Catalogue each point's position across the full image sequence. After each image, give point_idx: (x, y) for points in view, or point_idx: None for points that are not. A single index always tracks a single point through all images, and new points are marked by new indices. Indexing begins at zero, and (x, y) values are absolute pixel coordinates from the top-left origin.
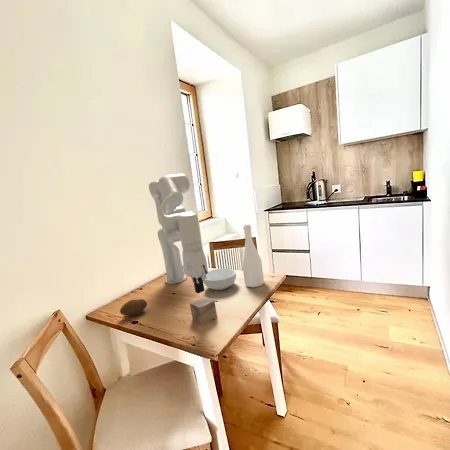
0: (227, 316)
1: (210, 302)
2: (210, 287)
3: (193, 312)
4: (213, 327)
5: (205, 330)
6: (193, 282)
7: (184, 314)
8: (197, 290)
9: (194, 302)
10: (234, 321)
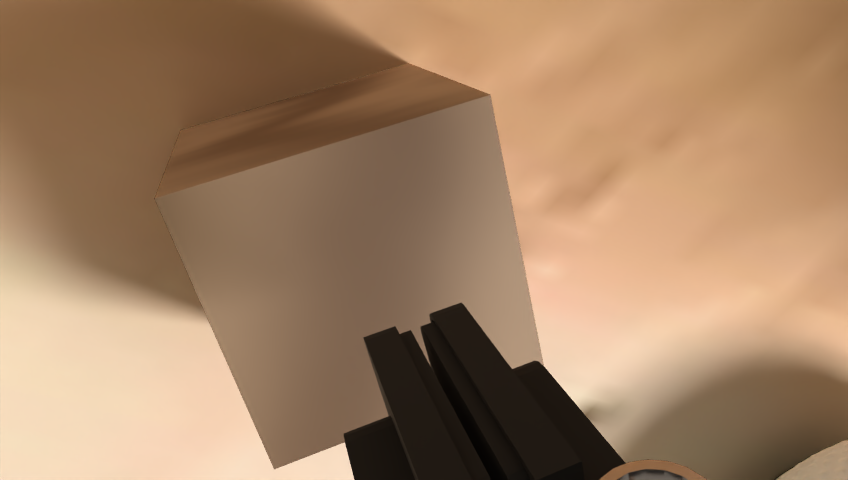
0: (189, 426)
1: (249, 402)
2: (822, 460)
3: (380, 94)
4: (33, 220)
5: (17, 109)
6: (638, 465)
7: (597, 19)
8: (382, 380)
9: (452, 178)
10: (25, 459)
